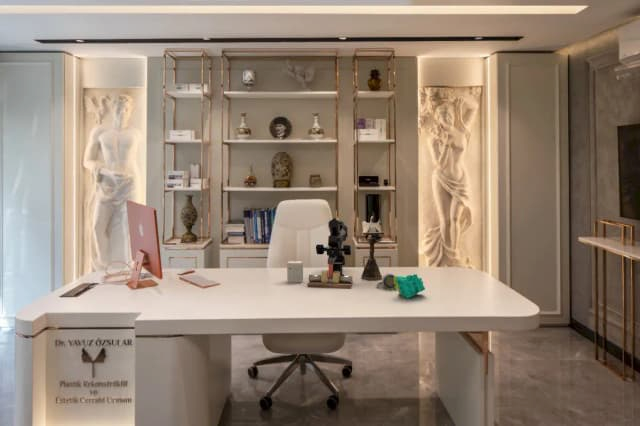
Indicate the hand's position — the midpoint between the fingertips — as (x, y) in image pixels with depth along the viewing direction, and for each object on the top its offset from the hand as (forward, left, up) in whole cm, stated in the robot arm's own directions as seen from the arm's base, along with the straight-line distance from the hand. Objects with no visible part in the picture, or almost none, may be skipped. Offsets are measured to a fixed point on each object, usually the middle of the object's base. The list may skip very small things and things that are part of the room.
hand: (332, 262), depth 258 cm
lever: (+4, +4, -7) cm, 9 cm away
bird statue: (-24, +6, -11) cm, 27 cm away
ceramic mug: (-15, +25, -11) cm, 32 cm away
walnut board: (+4, +4, -11) cm, 12 cm away
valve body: (+4, +4, -9) cm, 11 cm away
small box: (+14, -14, -11) cm, 23 cm away
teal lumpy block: (-11, +45, -11) cm, 47 cm away
